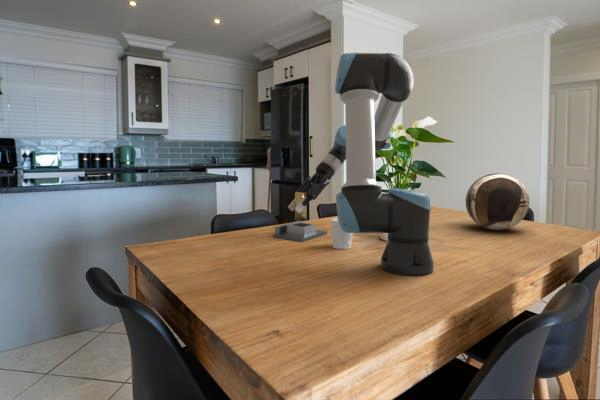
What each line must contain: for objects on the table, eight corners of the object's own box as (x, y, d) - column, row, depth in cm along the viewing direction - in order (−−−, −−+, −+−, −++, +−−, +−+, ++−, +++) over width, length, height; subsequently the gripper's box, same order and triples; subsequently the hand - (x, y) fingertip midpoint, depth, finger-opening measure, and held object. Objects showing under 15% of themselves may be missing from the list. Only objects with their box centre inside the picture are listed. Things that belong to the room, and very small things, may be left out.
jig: (302, 241, 148) (302, 229, 148) (273, 237, 156) (273, 225, 156) (327, 234, 163) (327, 222, 162) (299, 229, 171) (299, 219, 170)
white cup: (327, 248, 139) (327, 220, 138) (335, 243, 146) (336, 217, 145) (348, 250, 136) (348, 222, 134) (356, 246, 142) (356, 219, 141)
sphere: (467, 233, 166) (470, 174, 163) (461, 223, 190) (464, 171, 187) (533, 237, 159) (538, 175, 156) (519, 226, 183) (523, 172, 180)
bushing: (302, 221, 155) (302, 193, 153) (293, 220, 157) (292, 192, 155) (308, 219, 158) (308, 192, 157) (299, 218, 161) (299, 191, 159)
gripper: (346, 175, 156) (311, 219, 150) (321, 172, 171) (288, 212, 165) (335, 161, 153) (299, 206, 146) (310, 160, 167) (277, 201, 161)
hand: (293, 210), depth 155 cm, fingers closed on bushing, 5 cm apart
